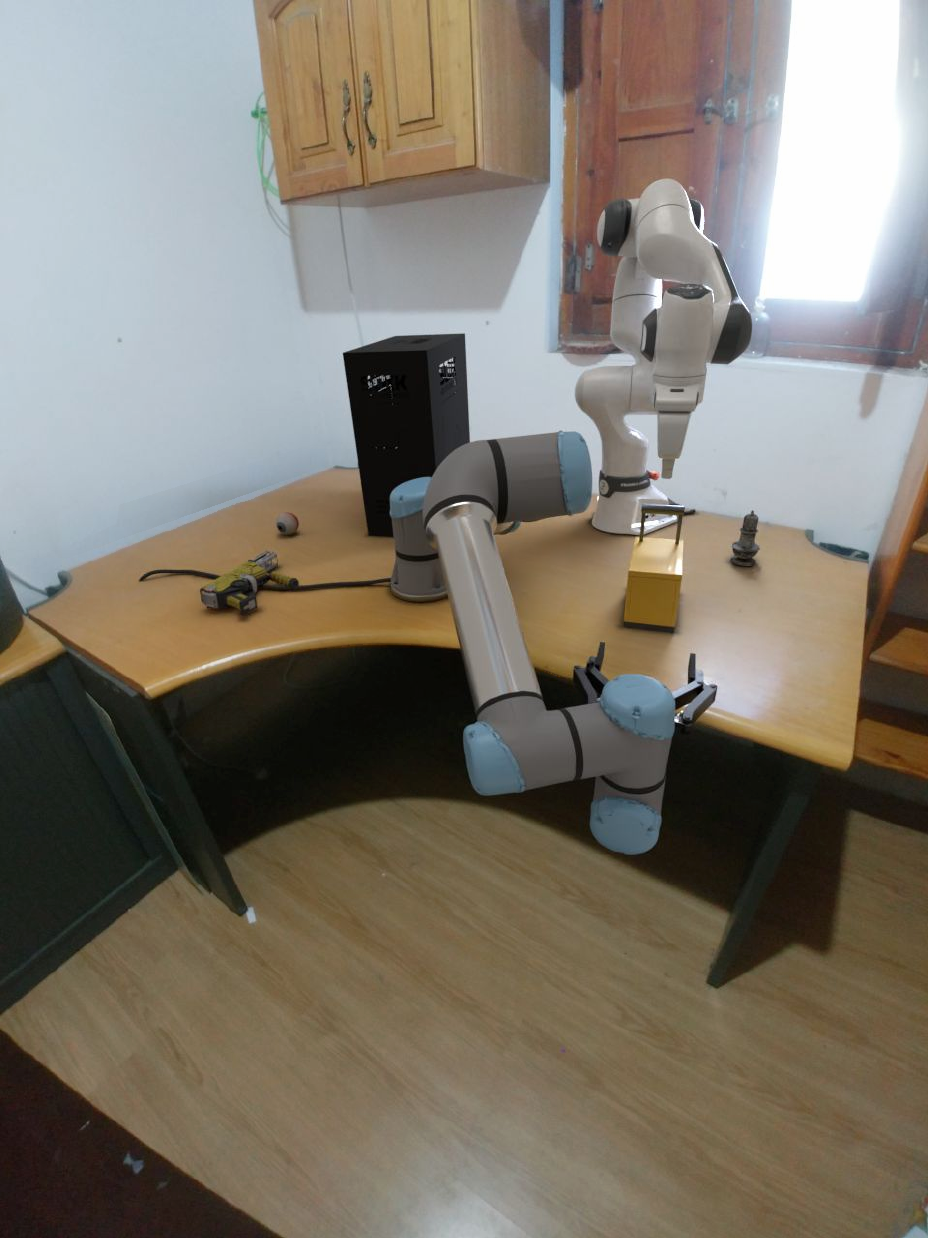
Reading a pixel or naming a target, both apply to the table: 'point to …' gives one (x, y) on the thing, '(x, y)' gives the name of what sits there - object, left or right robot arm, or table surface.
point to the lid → (658, 548)
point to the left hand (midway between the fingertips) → (646, 654)
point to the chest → (651, 603)
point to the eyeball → (287, 523)
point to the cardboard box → (405, 413)
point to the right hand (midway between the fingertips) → (667, 469)
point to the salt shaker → (746, 542)
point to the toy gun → (243, 584)
